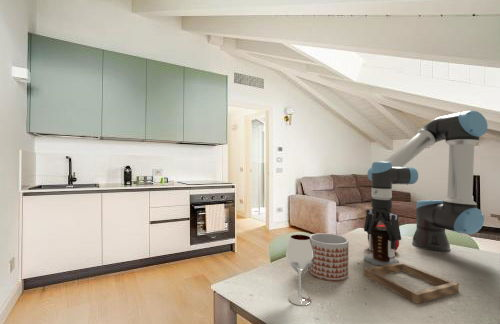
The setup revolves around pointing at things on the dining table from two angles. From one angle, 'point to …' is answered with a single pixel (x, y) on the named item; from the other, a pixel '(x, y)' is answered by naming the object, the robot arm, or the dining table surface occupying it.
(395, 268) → the square wooden frame
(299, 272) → the wineglass
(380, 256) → the coffee cup
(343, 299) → the dining table surface
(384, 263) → the flat grey disc
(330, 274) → the planter
